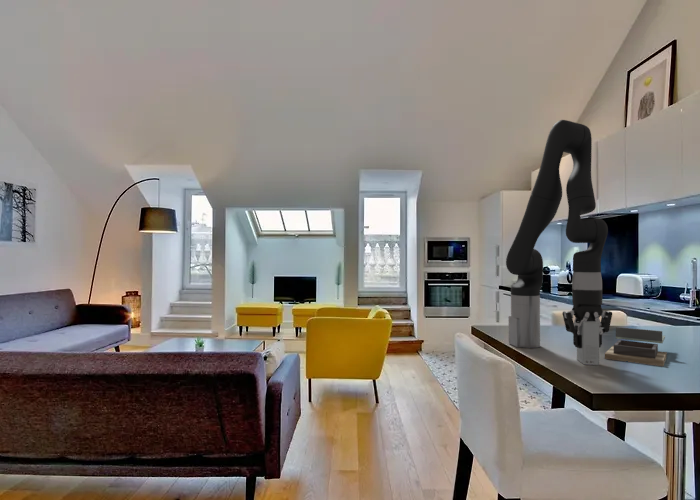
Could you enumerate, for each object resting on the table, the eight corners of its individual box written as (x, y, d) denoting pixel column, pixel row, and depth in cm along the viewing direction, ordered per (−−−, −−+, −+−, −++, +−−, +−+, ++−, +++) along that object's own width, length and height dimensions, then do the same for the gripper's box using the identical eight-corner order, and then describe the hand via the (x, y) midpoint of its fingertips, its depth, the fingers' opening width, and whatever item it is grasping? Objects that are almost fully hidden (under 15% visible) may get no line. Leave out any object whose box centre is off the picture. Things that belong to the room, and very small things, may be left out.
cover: (662, 343, 127) (662, 331, 127) (615, 338, 135) (615, 327, 135) (665, 337, 136) (664, 326, 136) (621, 333, 144) (621, 322, 144)
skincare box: (600, 365, 117) (599, 322, 117) (583, 364, 118) (582, 322, 118) (592, 360, 123) (591, 319, 123) (576, 359, 124) (575, 318, 124)
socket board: (663, 366, 116) (663, 351, 116) (604, 358, 125) (604, 345, 125) (666, 357, 127) (666, 343, 127) (612, 350, 136) (612, 338, 136)
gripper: (601, 286, 125) (602, 344, 125) (555, 287, 124) (556, 345, 123) (619, 288, 118) (620, 349, 117) (571, 289, 116) (571, 350, 116)
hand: (587, 347), depth 120 cm, fingers closed on skincare box, 5 cm apart
